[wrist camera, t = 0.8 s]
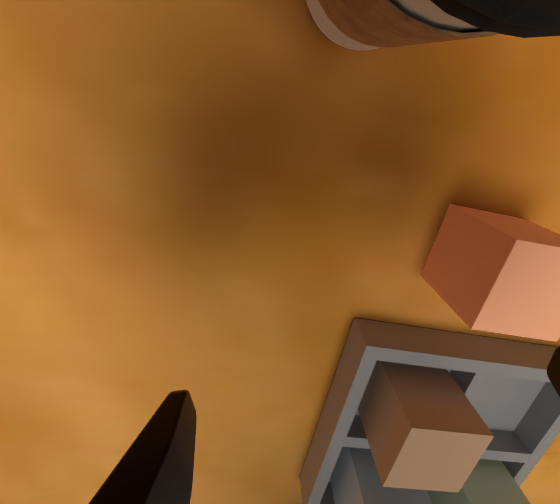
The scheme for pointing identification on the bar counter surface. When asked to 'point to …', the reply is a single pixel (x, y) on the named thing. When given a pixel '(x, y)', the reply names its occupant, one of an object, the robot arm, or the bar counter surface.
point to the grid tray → (474, 372)
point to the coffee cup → (430, 20)
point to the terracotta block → (497, 272)
